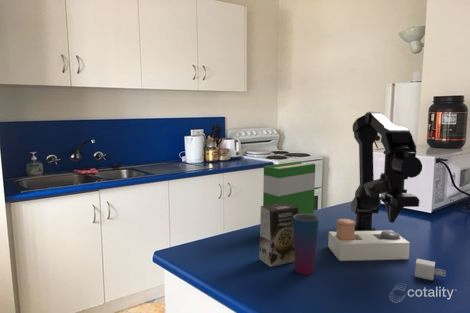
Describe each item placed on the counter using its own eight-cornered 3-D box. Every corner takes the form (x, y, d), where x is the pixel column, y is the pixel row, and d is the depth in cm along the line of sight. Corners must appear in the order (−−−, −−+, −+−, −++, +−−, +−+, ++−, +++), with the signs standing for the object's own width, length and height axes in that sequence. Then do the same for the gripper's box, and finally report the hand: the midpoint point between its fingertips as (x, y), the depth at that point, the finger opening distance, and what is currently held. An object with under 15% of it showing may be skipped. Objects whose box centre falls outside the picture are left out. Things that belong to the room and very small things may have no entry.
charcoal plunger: (377, 247, 116) (378, 231, 115) (393, 247, 116) (394, 230, 116) (384, 254, 111) (385, 236, 110) (401, 254, 111) (403, 236, 110)
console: (328, 246, 118) (328, 231, 117) (391, 245, 119) (392, 230, 118) (339, 260, 107) (340, 244, 107) (408, 259, 109) (409, 242, 108)
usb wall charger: (415, 271, 101) (417, 257, 100) (445, 277, 97) (446, 263, 97) (414, 277, 97) (415, 263, 97) (444, 284, 94) (446, 269, 93)
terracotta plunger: (333, 236, 115) (334, 218, 114) (350, 235, 115) (351, 218, 114) (339, 242, 109) (340, 224, 109) (356, 242, 110) (357, 224, 109)
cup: (318, 267, 103) (320, 214, 101) (315, 277, 97) (317, 222, 95) (294, 263, 105) (295, 212, 103) (289, 273, 99) (290, 219, 97)
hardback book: (298, 224, 140) (299, 161, 136) (313, 229, 134) (315, 164, 131) (262, 234, 129) (263, 166, 126) (277, 240, 123) (279, 169, 120)
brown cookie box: (270, 267, 103) (271, 211, 100) (258, 259, 108) (259, 205, 106) (297, 261, 107) (299, 207, 105) (284, 253, 113) (285, 201, 110)
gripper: (355, 166, 119) (353, 213, 121) (382, 177, 100) (379, 233, 102) (389, 166, 119) (386, 213, 121) (422, 177, 101) (418, 232, 103)
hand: (391, 222), depth 112 cm, fingers closed
